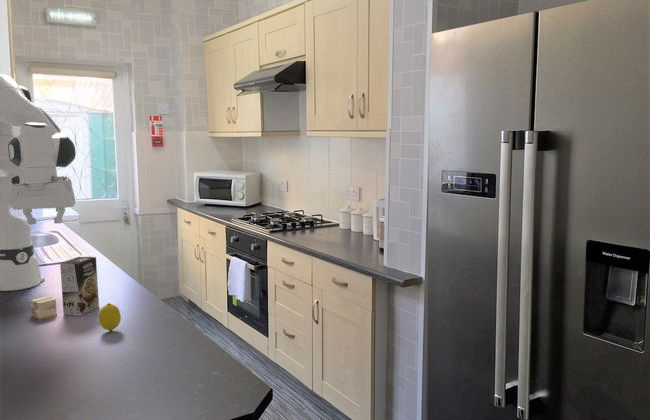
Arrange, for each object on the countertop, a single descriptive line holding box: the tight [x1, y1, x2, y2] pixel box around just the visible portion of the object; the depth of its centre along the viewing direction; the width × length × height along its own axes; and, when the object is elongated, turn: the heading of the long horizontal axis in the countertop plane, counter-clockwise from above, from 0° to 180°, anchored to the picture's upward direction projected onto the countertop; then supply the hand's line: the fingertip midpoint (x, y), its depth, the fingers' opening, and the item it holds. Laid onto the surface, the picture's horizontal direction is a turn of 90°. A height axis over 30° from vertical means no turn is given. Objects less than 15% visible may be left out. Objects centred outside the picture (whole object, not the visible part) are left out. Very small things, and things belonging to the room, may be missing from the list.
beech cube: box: [30, 295, 58, 320], centre depth 164 cm, size 5×5×5 cm
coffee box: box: [59, 256, 100, 317], centre depth 167 cm, size 9×6×16 cm
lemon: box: [98, 302, 122, 332], centre depth 150 cm, size 6×6×8 cm
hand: (45, 223), depth 164 cm, fingers open, 8 cm apart
